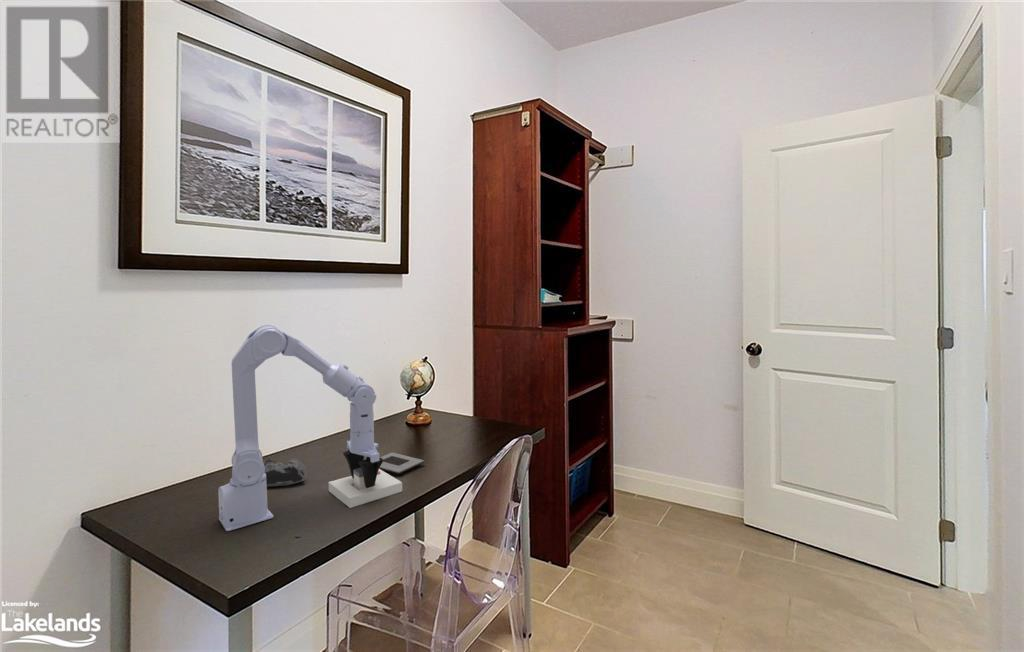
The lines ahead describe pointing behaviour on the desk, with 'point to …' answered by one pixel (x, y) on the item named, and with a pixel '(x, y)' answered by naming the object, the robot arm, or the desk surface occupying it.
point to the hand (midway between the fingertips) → (363, 482)
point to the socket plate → (354, 497)
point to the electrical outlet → (398, 463)
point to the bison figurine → (284, 473)
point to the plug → (358, 479)
